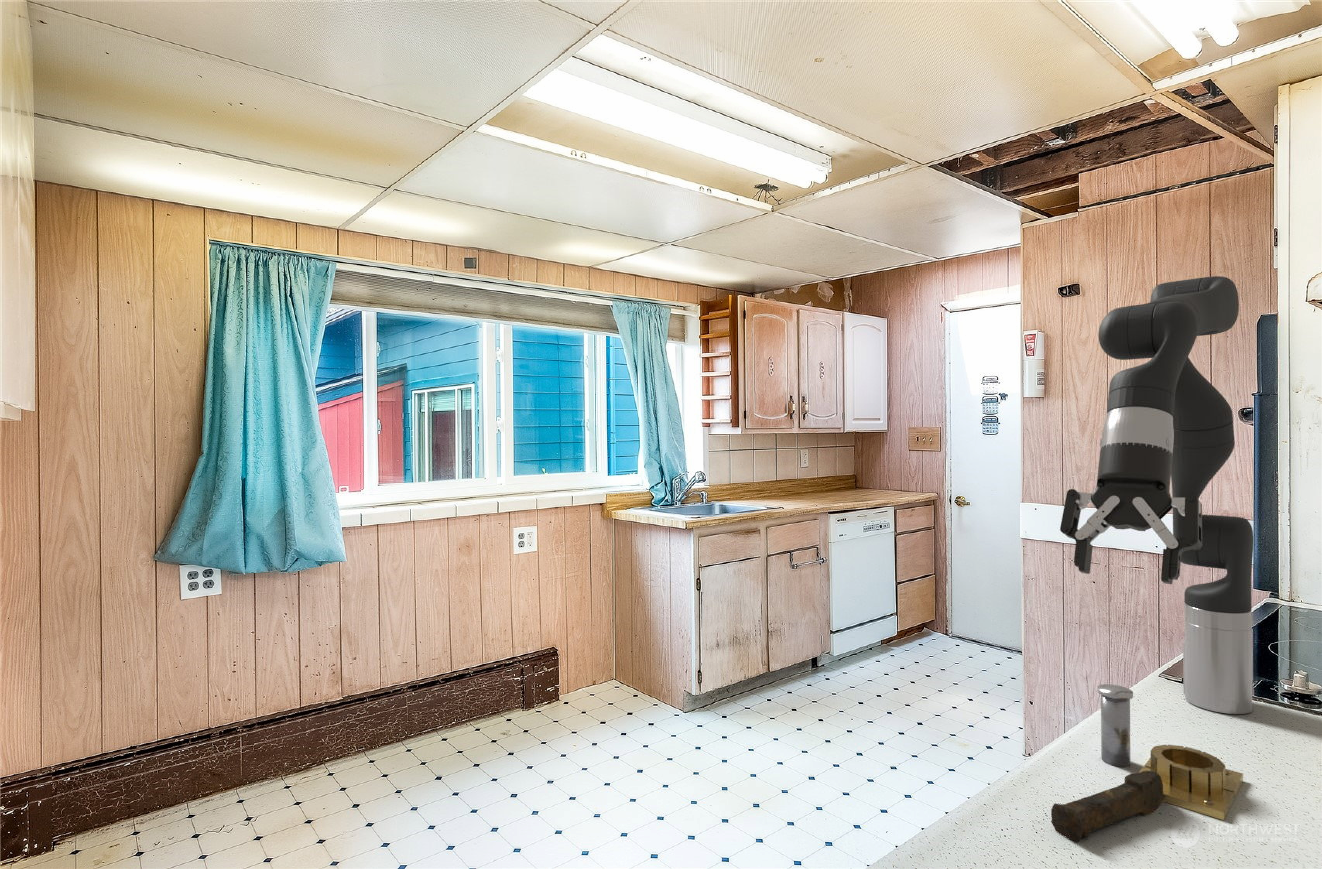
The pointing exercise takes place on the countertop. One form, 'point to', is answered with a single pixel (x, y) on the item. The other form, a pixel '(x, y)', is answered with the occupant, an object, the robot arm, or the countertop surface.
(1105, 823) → the hand tool
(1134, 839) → the countertop surface
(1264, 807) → the countertop surface
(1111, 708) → the hinge pin
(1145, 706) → the countertop surface
